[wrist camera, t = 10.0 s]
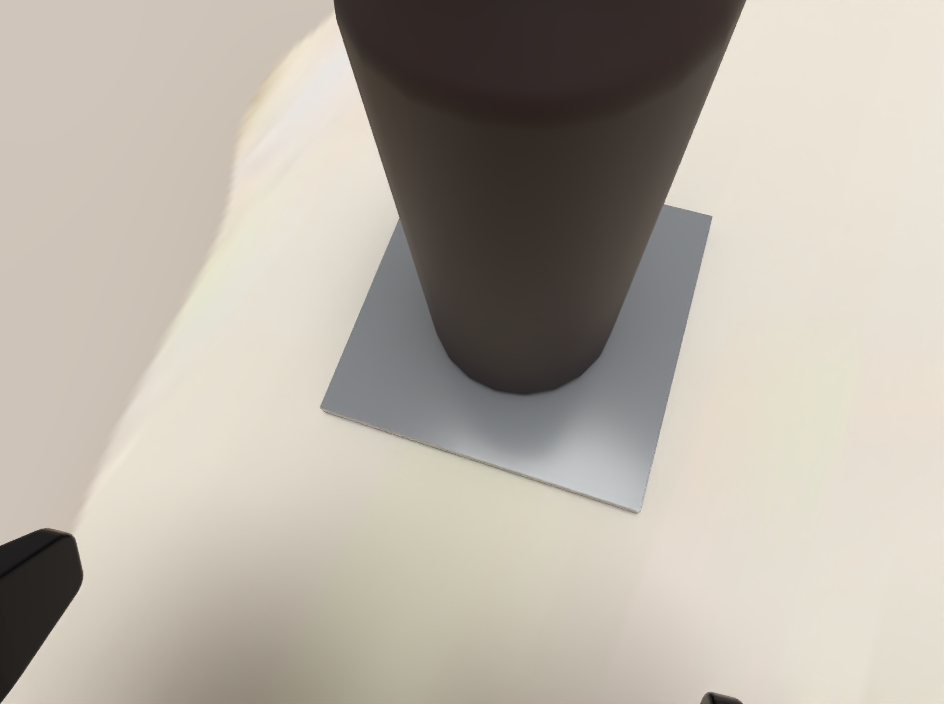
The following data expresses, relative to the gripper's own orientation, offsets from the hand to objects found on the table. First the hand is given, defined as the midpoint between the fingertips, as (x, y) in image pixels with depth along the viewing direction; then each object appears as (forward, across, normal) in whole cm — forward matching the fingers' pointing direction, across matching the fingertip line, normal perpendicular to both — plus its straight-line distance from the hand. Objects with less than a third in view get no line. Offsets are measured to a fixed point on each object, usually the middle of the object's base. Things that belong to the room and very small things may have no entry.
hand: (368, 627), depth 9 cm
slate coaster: (+17, 0, +2) cm, 17 cm away
